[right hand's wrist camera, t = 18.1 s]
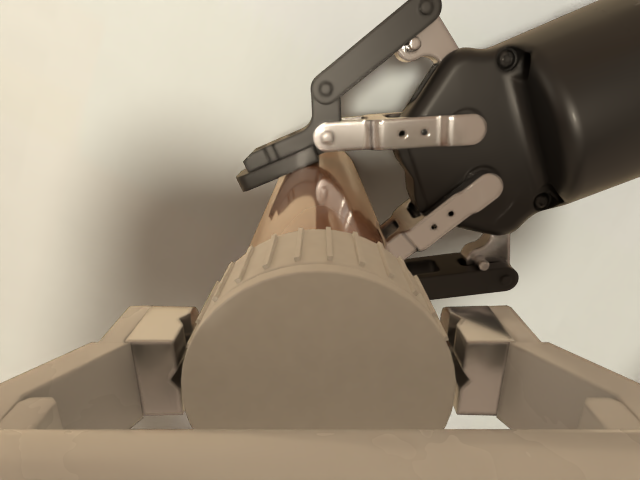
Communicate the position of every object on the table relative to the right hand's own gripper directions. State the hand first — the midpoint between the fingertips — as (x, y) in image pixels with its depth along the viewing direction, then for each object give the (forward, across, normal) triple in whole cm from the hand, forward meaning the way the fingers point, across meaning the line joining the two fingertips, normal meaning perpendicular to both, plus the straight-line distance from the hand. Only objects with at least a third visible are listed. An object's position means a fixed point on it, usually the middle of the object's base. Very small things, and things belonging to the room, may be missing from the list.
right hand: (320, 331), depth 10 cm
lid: (-2, 0, 0) cm, 2 cm away
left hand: (+10, -2, -1) cm, 11 cm away
